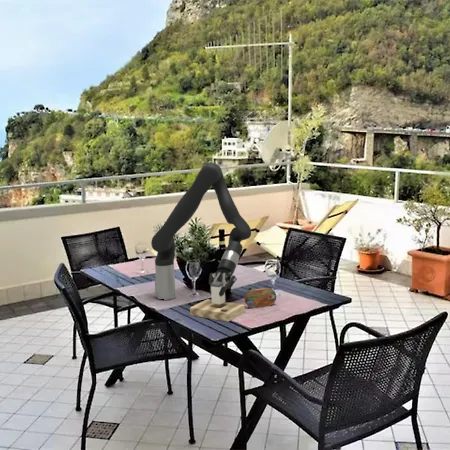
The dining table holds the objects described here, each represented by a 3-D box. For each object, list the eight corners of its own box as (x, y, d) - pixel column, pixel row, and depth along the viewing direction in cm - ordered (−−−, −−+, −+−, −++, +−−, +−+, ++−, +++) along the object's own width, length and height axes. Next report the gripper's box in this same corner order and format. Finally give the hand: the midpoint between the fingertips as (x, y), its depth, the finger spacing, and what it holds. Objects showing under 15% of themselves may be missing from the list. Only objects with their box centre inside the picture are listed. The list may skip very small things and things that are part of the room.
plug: (211, 303, 251) (210, 283, 250) (217, 300, 255) (216, 281, 253) (219, 304, 249) (218, 284, 247) (225, 301, 252) (224, 282, 251)
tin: (246, 309, 257) (245, 291, 255) (243, 307, 260) (243, 289, 258) (276, 305, 261) (276, 287, 260) (274, 303, 264) (273, 286, 262)
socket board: (190, 315, 251) (189, 306, 251) (207, 306, 263) (207, 298, 262) (228, 321, 241) (227, 312, 240) (244, 312, 252) (244, 303, 252)
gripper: (212, 256, 259) (198, 288, 251) (238, 259, 251) (225, 292, 243) (219, 265, 264) (206, 297, 256) (245, 268, 256) (232, 301, 248)
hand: (215, 294), depth 250 cm, fingers closed on plug, 4 cm apart
